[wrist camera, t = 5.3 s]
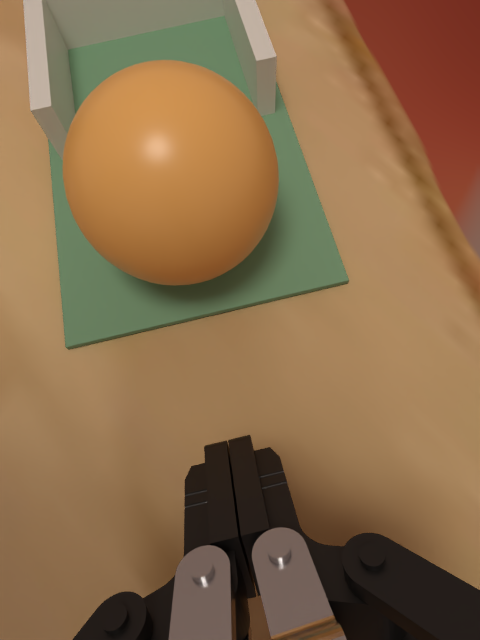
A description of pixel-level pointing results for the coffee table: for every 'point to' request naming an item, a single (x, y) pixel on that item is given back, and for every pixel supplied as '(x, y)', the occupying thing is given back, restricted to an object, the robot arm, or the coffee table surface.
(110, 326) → the felt strip
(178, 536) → the coffee table surface
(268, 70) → the white side walls
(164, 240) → the ball
